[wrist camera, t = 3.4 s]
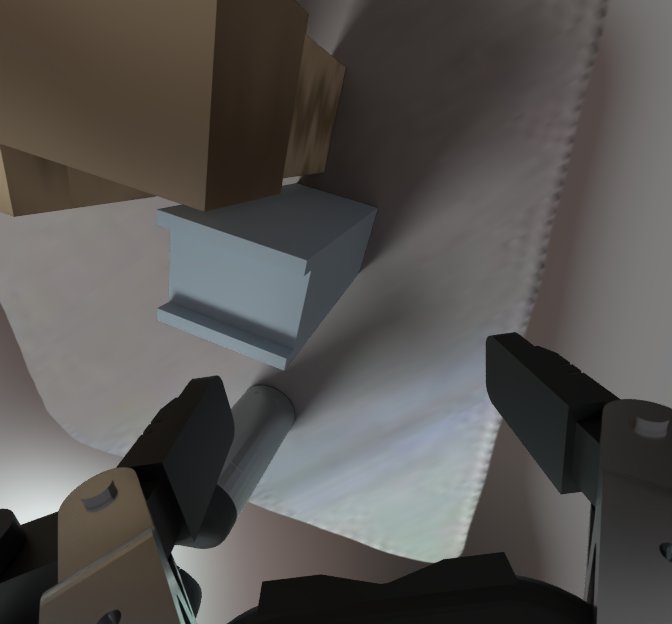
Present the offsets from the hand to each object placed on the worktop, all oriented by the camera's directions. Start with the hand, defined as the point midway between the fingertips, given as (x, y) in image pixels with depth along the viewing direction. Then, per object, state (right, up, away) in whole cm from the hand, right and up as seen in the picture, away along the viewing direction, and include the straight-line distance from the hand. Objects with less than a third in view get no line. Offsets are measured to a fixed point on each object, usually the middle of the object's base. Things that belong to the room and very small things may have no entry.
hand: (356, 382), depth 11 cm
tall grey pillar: (-1, +12, +31) cm, 34 cm away
